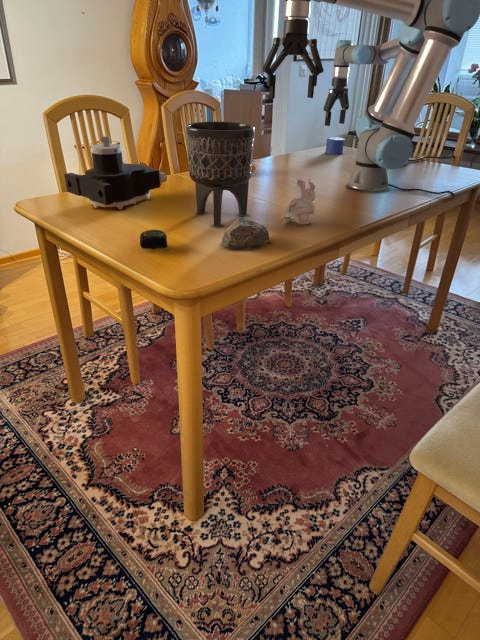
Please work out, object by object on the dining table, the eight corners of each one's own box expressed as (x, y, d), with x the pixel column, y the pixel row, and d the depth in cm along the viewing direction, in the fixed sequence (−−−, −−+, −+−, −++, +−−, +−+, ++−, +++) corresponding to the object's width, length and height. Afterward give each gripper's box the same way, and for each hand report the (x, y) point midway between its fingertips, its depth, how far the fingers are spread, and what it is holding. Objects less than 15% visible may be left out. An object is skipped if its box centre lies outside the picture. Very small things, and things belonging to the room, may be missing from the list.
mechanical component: (57, 135, 140) (135, 127, 160) (69, 203, 151) (140, 187, 171) (98, 144, 128) (177, 134, 148) (107, 217, 139) (180, 198, 159)
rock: (255, 233, 128) (256, 211, 124) (276, 242, 122) (278, 219, 119) (217, 244, 120) (217, 220, 117) (239, 254, 115) (239, 230, 111)
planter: (175, 218, 139) (170, 125, 125) (214, 204, 153) (213, 119, 139) (227, 232, 129) (227, 132, 116) (263, 215, 143) (268, 125, 130)
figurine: (321, 218, 142) (325, 177, 135) (298, 231, 131) (302, 187, 125) (298, 213, 146) (301, 173, 139) (274, 225, 135) (277, 182, 128)
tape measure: (140, 252, 115) (139, 238, 113) (141, 242, 120) (140, 229, 119) (167, 251, 116) (166, 237, 114) (167, 241, 121) (166, 228, 120)
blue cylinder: (324, 154, 239) (326, 139, 235) (326, 151, 246) (327, 136, 242) (342, 155, 237) (343, 140, 233) (342, 152, 244) (344, 137, 241)
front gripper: (327, 21, 142) (320, 96, 153) (253, 18, 135) (251, 97, 146) (339, 20, 136) (331, 98, 147) (262, 16, 129) (259, 99, 140)
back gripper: (346, 76, 230) (341, 121, 241) (319, 77, 214) (314, 125, 225) (360, 77, 226) (353, 123, 236) (332, 78, 210) (327, 127, 220)
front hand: (291, 98), depth 146 cm, fingers open, 13 cm apart
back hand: (334, 124), depth 231 cm, fingers open, 13 cm apart
